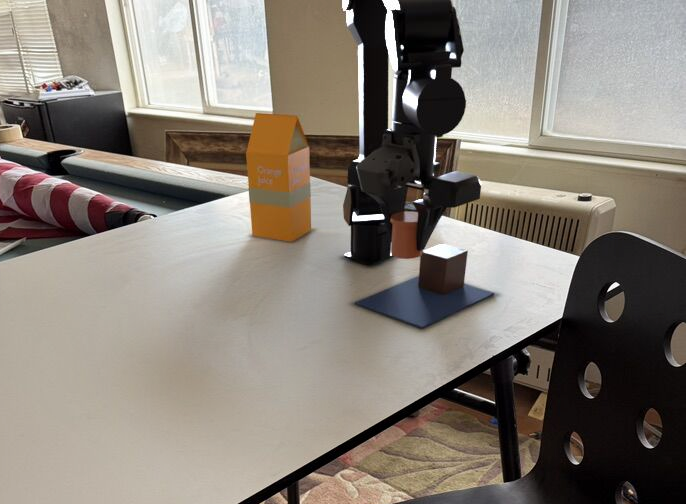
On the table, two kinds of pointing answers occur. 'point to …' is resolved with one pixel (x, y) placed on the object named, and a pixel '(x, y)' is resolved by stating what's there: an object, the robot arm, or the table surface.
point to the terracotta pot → (404, 235)
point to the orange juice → (279, 178)
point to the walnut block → (442, 269)
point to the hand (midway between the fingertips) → (407, 246)
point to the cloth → (422, 302)
